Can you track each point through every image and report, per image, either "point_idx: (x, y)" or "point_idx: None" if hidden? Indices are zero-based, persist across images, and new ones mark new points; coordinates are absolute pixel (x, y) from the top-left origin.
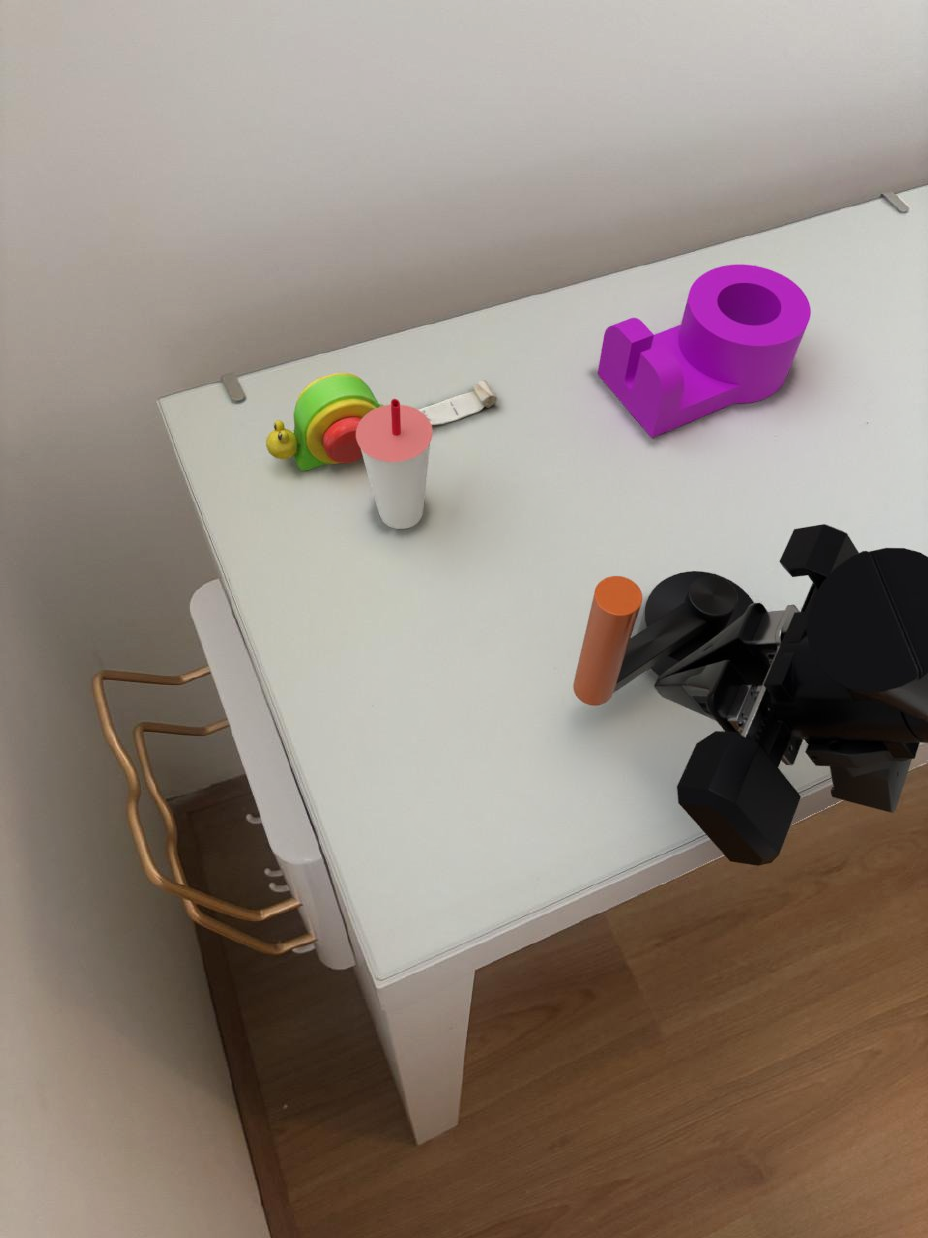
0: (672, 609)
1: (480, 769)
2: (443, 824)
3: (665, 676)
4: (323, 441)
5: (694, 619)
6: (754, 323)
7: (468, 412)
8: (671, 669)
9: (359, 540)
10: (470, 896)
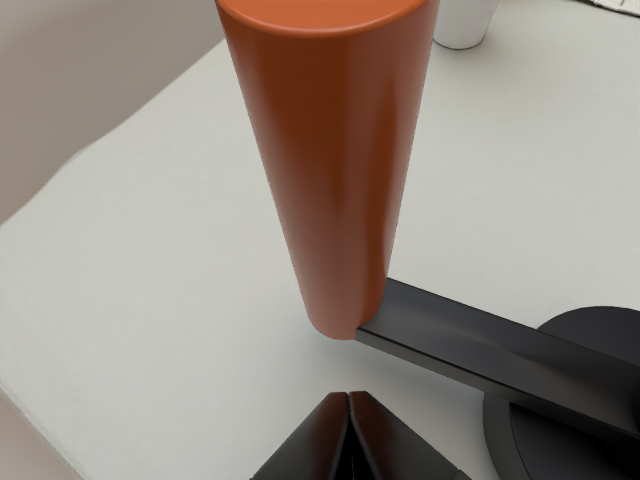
0: None
1: (199, 255)
2: (113, 256)
3: (351, 406)
4: None
5: (619, 408)
6: None
7: (635, 10)
8: (375, 411)
9: None
10: (30, 331)
